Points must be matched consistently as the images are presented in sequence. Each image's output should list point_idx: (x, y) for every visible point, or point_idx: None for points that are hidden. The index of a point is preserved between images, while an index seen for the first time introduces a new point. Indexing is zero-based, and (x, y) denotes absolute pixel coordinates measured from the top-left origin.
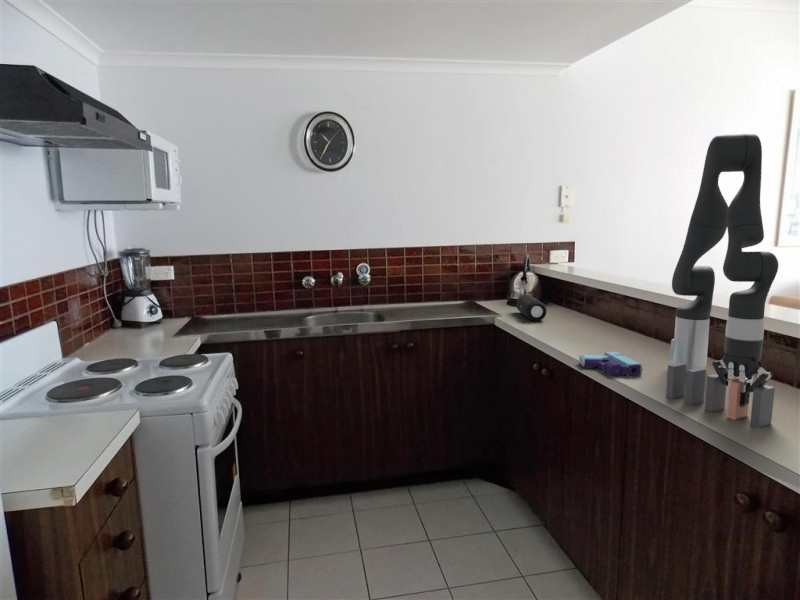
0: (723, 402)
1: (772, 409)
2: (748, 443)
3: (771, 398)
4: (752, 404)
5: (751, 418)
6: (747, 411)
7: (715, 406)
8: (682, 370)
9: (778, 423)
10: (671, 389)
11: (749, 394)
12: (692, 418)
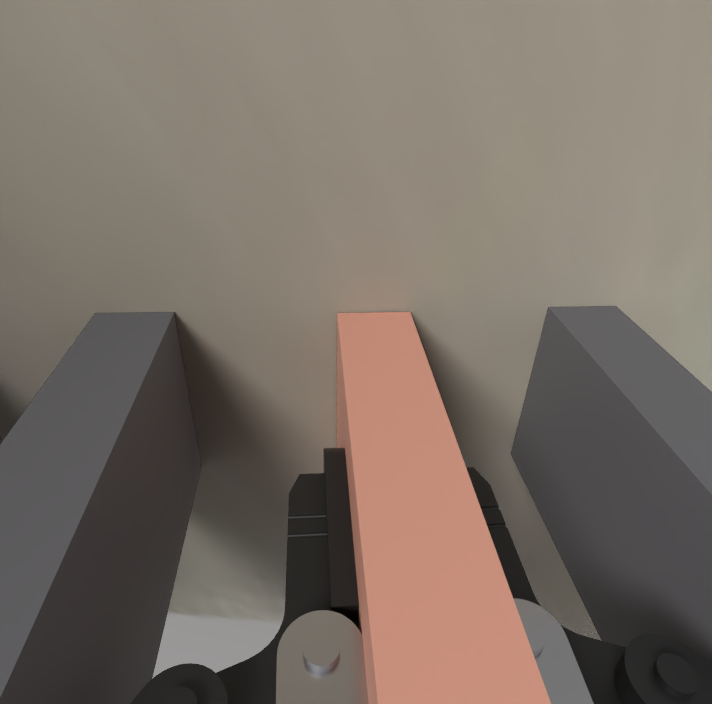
0: (160, 374)
1: (708, 391)
2: (594, 626)
3: None
4: (593, 616)
5: (537, 496)
6: (418, 341)
7: (185, 463)
8: None
9: (663, 238)
10: None
11: (528, 584)
12: (235, 617)
